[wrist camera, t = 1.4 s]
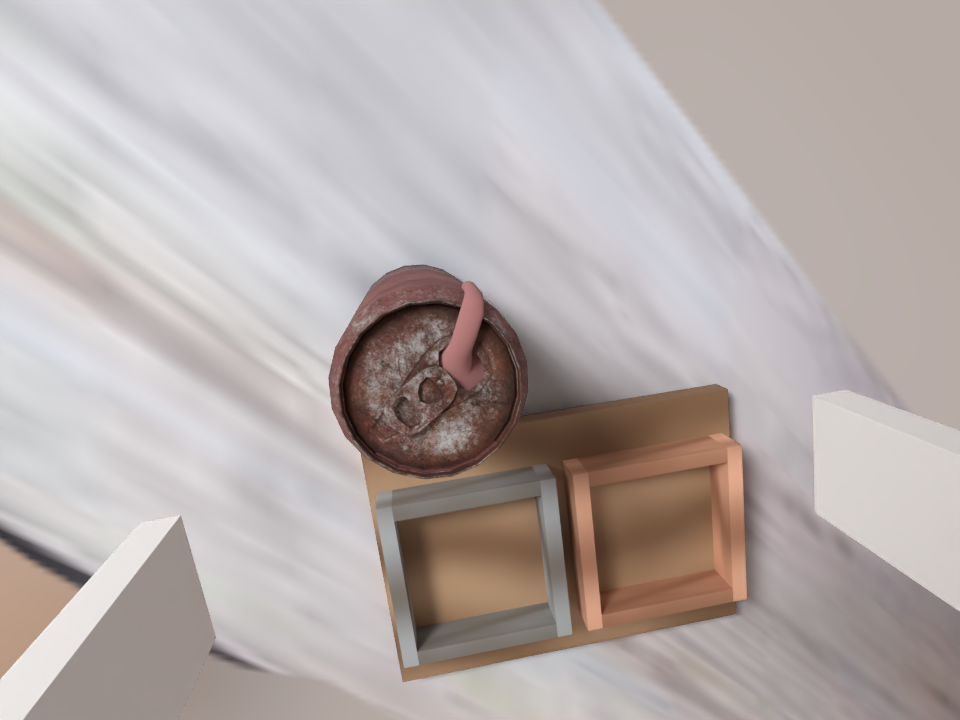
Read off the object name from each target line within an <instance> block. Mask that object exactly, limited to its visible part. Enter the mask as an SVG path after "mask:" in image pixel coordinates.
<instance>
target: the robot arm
mask: <svg viewBox="0 0 960 720" xmlns="http://www.w3.org/2000/svg"><path fill="white" fill-rule="evenodd" d="M813 440H814V492H815V513H816V514H818V515H819V516H820V517H822V518H823V519H825V520H826V521H828V522H829V523H831V524H832V525H834V526H835V527H837V528H838V529H839V530H841V531H842V532H844V533H845V534H847V535H848V536H850V537H851V538H853V539H854V540H856V541H857V542H858V543H860V544H861V545H863V546H864V547H866V548H867V549H869V550H870V551H872V552H873V553H875V554H876V555H878V556H879V557H880V558H882V559H883V560H885V561H886V562H888V563H889V564H891V565H892V566H894V567H895V568H897V569H898V570H899V571H901V572H902V573H904V574H905V575H907V576H908V577H910V578H911V579H913V580H914V581H916V582H917V583H918V584H920V585H921V586H923V587H924V588H926V589H927V590H929V591H930V592H932V593H933V594H935V595H936V596H937V597H939V598H940V599H942V600H943V601H945V602H946V603H948V604H949V605H951V606H952V607H954V608H955V609H956V610H958V611H959V612H960V430H957V429H954V428H951V427H949V426H946V425H943V424H940V423H937V422H935V421H932V420H929V419H926V418H924V417H921V416H918V415H915V414H912V413H910V412H907V411H904V410H901V409H899V408H896V407H893V406H890V405H887V404H885V403H882V402H879V401H876V400H873V399H871V398H868V397H865V396H862V395H860V394H857V393H854V392H851V391H848V390H841V391H836V392H830V393H825V394H820V395H814V396H813ZM215 638H216V636H215V633H214V629H213V626H212V622H211V619H210V615H209V612H208V608H207V605H206V601H205V598H204V594H203V591H202V587H201V584H200V580H199V577H198V574H197V570H196V567H195V563H194V560H193V556H192V553H191V549H190V546H189V542H188V539H187V535H186V532H185V528H184V525H183V521H182V518H181V515H179V516H174V517H169V518H163V519H158V520H153V521H147V522H142V523H139V524H138V525H137V527H136V528H135V529H134V530H133V531H132V532H131V533H130V534H129V536H128V537H127V538H126V539H125V540H124V541H123V542H122V543H121V545H120V546H119V547H118V548H117V549H116V550H115V551H114V552H113V554H112V555H111V556H110V557H109V558H108V559H107V560H106V561H105V563H104V564H103V565H102V566H101V567H100V568H99V569H98V570H97V571H96V573H95V574H94V575H93V576H92V577H91V578H90V579H89V580H88V582H87V583H86V584H85V585H84V586H83V587H82V588H81V589H80V591H79V592H78V593H77V594H76V595H75V596H74V597H73V598H72V600H71V601H70V602H69V603H68V604H67V605H66V606H65V607H64V609H63V610H62V611H61V612H60V613H59V614H58V615H57V616H56V618H55V619H54V620H53V621H52V622H51V623H50V624H49V625H48V626H47V628H46V629H45V630H44V631H43V632H42V633H41V634H40V635H39V637H38V638H37V639H36V640H35V641H34V642H33V643H32V644H31V646H30V647H29V648H28V649H27V650H26V651H25V652H24V653H23V655H22V656H21V657H20V658H19V659H18V660H17V661H16V662H15V664H14V665H13V666H12V667H11V668H10V669H9V670H8V671H7V672H6V674H5V675H4V676H3V677H2V678H1V679H0V720H179V718H180V715H181V713H182V711H183V709H184V707H185V704H186V702H187V700H188V698H189V696H190V693H191V691H192V689H193V687H194V685H195V682H196V680H197V678H198V676H199V674H200V671H201V669H202V667H203V665H204V663H205V660H206V658H207V656H208V654H209V652H210V649H211V647H212V645H213V643H214V641H215Z"/></svg>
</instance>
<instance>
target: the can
mask: <svg viewBox="0 0 960 720" xmlns="http://www.w3.org/2000/svg"><path fill="white" fill-rule="evenodd" d="M329 387H330V395H331V404H332V410H333V412H334V414H335V416H336V418H337V420H338V423H339V425H340V427H341V429H342V431H343V433H344V435H345V437H346V438H347V439H348V440H349V441H350V442H351V443H352V444H353V445H354V446H355V447H356V448H357V449H358V450H359V452H360V453H361V454H362V455H363V456H364V457H365V458H366V459H368V460H370V461H372V462H374V463H376V464H377V465H379V466H381V467H383V468H385V469H387V470H389V471H390V472H392V473H396V474H400V475H405V476H410V477H415V478H420V479H432V478H442V477H452V476H455V475H457V474H460V473H462V472H464V471H467V470H469V469H471V468H474V467H476V466H479V465H480V464H481V463H482V462H483V461H485V460H486V459H487V458H488V457H490V456H491V455H492V454H493V453H494V452H496V451H497V450H498V449H499V448H500V447H502V446H503V445H504V444H505V442H506V440H507V439H508V437H509V436H510V434H511V433H512V431H513V430H514V428H515V427H516V425H517V424H518V422H519V421H520V418H521V415H522V411H523V408H524V404H525V400H526V397H527V393H528V378H527V361H526V358H525V355H524V353H523V350H522V348H521V345H520V342H519V340H518V337H517V334H516V333H515V331H514V330H513V329H512V328H511V326H510V325H509V324H508V323H507V322H506V320H505V319H504V318H503V317H502V315H501V314H500V313H499V312H498V311H497V309H495V308H494V307H493V306H491V305H490V304H489V303H488V302H486V301H485V300H484V299H483V295H482V292H481V291H480V290H479V289H478V288H477V286H476V285H475V284H474V283H473V282H471V281H467V282H463V283H462V282H461V281H460V280H458V279H457V278H455V277H454V276H452V275H451V274H449V273H447V272H446V271H444V270H443V269H439V268H435V267H431V266H427V265H411V266H403V267H401V268H398V269H396V270H393V271H391V272H388V273H386V274H385V275H384V276H383V277H381V278H380V279H379V280H378V281H377V282H376V283H374V284H373V285H372V286H371V288H370V290H369V291H368V293H367V295H366V296H365V298H364V299H363V301H362V303H361V304H360V306H359V308H358V310H357V311H356V313H355V315H354V316H353V318H352V320H351V322H350V323H349V325H348V327H347V328H346V330H345V332H344V334H343V335H342V337H341V339H340V340H339V342H338V344H337V346H336V347H335V351H334V356H333V360H332V365H331V369H330V374H329Z"/></svg>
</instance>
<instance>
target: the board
mask: <svg viewBox="0 0 960 720" xmlns="http://www.w3.org/2000/svg"><path fill="white" fill-rule="evenodd" d="M361 457H362V463H363V468H364V474H365V479H366V485H367V490H368V495H369V501H370V506H371V512H372V517H373V523H374V528H375V534H376V539H377V544H378V550H379V555H380V561H381V566H382V572H383V577H384V582H385V588H386V593H387V599H388V604H389V610H390V615H391V621H392V626H393V631H394V637H395V642H396V648H397V653H398V659H399V664H400V670H401V675H402V680H403V682H406V681H411V680H416V679H420V678H425V677H430V676H435V675H440V674H445V673H450V672H455V671H459V670H464V669H469V668H474V667H479V666H484V665H489V664H494V663H499V662H503V661H508V660H513V659H518V658H523V657H528V656H533V655H538V654H542V653H547V652H552V651H557V650H562V649H567V648H572V647H577V646H581V645H586V644H591V643H596V642H601V641H606V640H611V639H616V638H621V637H625V636H630V635H635V634H640V633H645V632H650V631H655V630H660V629H664V628H669V627H674V626H679V625H684V624H689V623H694V622H699V621H704V620H708V619H713V618H718V617H723V616H728V615H733V614H737V613H736V601H739V600H744V599H747V585H746V556H745V526H744V497H743V468H742V445H740V444H739V443H737V442H735V441H734V440H732V439H731V438H730V432H729V406H728V389H726V388H724V387H722V386H720V385H717V384H714V385H708V386H702V387H696V388H690V389H684V390H678V391H672V392H666V393H660V394H654V395H648V396H642V397H635V398H629V399H623V400H617V401H611V402H605V403H599V404H593V405H587V406H581V407H575V408H569V409H563V410H557V411H551V412H544V413H538V414H532V415H526V416H521V418H520V421H519V422H518V424H517V425H516V427H515V428H514V430H513V431H512V433H511V434H510V436H509V437H508V439H507V440H506V442H505V444H504V445H503V446H502V447H500V448H499V449H498V450H497V451H496V452H494V453H493V454H492V455H491V456H490V457H488V458H487V459H486V460H485V461H483V462H482V463H481V464H480V465H479V466H476V467H474V468H471V469H469V470H467V471H464V472H462V473H460V474H457V475H455V476H452V477H442V478H432V479H420V478H415V477H410V476H405V475H400V474H396V473H392V472H390V471H389V470H387V469H385V468H383V467H381V466H379V465H377V464H376V463H374V462H372V461H370V460H368V459H366V458H365V457H364V456H363V455H362V454H361Z"/></svg>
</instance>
